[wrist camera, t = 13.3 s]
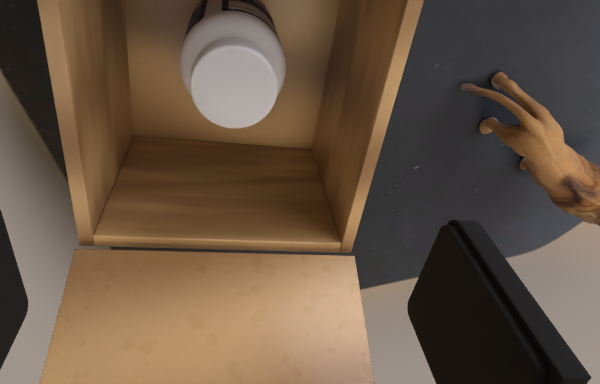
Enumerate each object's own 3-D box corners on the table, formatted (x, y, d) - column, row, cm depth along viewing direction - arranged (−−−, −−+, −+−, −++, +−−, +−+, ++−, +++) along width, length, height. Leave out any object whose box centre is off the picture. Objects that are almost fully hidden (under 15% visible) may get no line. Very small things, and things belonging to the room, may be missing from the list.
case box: (105, -119, 23) (14, -129, 13) (362, -73, 26) (439, -54, 16) (125, 138, 31) (79, 246, 22) (317, 152, 34) (351, 253, 24)
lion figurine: (593, 142, 37) (683, 203, 30) (545, 187, 39) (617, 254, 32) (481, 53, 31) (558, 103, 24) (432, 112, 33) (488, 174, 26)
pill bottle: (212, 86, 29) (205, 158, 21) (173, 7, 26) (148, 56, 18) (287, 57, 29) (308, 119, 21) (255, -27, 26) (266, 8, 18)
